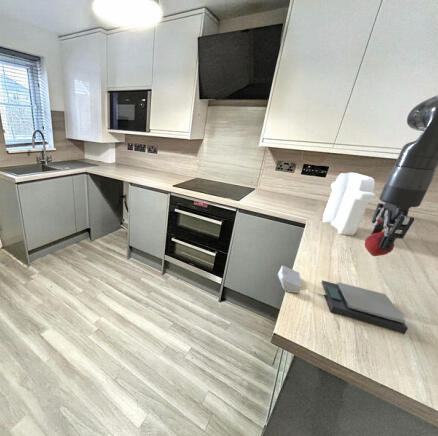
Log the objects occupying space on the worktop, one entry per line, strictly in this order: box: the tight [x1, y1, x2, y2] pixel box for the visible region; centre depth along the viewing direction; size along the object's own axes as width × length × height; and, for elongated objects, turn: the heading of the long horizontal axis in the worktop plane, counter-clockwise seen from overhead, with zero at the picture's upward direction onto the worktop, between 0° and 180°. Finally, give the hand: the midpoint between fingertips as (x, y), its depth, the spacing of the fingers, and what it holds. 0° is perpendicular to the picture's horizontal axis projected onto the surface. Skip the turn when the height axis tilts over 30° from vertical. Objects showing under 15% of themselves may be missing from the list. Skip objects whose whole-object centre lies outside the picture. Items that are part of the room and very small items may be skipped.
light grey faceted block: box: [277, 265, 302, 294], centre depth 77 cm, size 10×6×6 cm, turn 149°
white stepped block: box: [322, 172, 376, 236], centre depth 125 cm, size 27×11×30 cm, turn 168°
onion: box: [364, 229, 395, 257], centre depth 65 cm, size 6×6×8 cm
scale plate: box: [335, 281, 406, 324], centre depth 68 cm, size 12×12×1 cm
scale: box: [321, 280, 409, 335], centre depth 69 cm, size 16×14×2 cm
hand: (378, 244), depth 65 cm, fingers closed on onion, 6 cm apart
